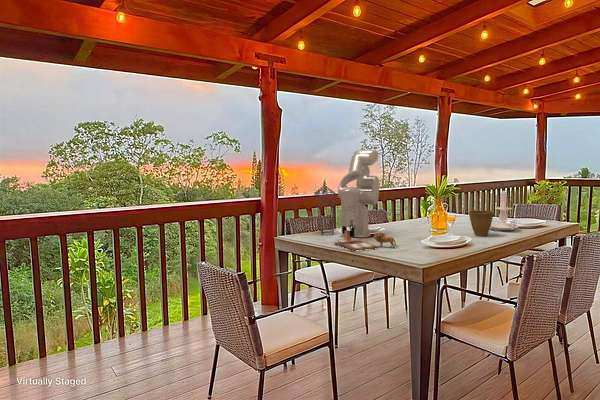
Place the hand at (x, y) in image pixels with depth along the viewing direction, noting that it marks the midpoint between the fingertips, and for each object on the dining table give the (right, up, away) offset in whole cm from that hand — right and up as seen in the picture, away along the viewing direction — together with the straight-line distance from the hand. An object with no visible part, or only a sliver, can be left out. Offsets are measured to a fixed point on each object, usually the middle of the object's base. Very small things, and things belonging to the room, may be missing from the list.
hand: (348, 235), depth 257 cm
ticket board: (+3, -6, -9) cm, 11 cm away
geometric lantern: (-12, -3, +37) cm, 39 cm away
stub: (0, -4, 0) cm, 4 cm away
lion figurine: (+21, -7, -13) cm, 25 cm away
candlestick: (+114, +1, +29) cm, 118 cm away
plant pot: (+90, -2, +14) cm, 91 cm away
